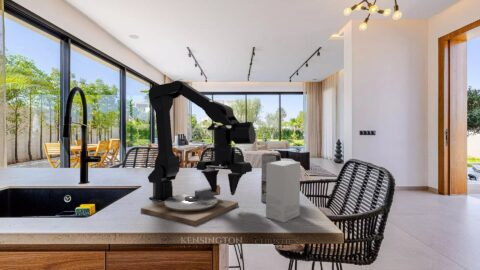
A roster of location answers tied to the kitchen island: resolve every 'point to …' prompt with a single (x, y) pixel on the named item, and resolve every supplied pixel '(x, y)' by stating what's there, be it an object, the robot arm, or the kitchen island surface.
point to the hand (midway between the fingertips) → (223, 193)
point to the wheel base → (192, 216)
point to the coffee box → (265, 159)
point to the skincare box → (282, 190)
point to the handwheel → (193, 200)
